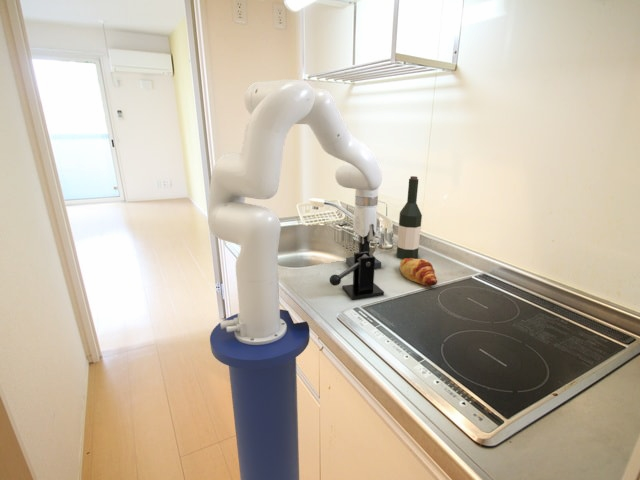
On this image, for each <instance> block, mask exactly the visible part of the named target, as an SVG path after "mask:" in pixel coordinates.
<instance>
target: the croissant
mask: <svg viewBox="0 0 640 480" xmlns="http://www.w3.org/2000/svg"><path fill="white" fill-rule="evenodd" d="M399 271H400V272H401V276H402V277H404V278H406V279H407V280H409V281H412V282H414V283H418V284H420V285H423V286H427V287H432V286H436V285H437V284H438V279H437V276H436V273H435V269H434V267H433V264H432V263H431V262H430V261H429V260H426V259H423V258H422V259H421V258H417V259H413V258H408V259H407V258H406V259H403V260H402V259H401V260H400V264H399Z"/></svg>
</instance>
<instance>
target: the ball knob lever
mask: <svg viewBox="0 0 640 480" xmlns="http://www.w3.org/2000/svg"><path fill="white" fill-rule="evenodd" d="M361 257H368V256H367V255H366V254H364V255H362V256H361ZM359 258H360V257H359ZM359 258H358V259H357V260H358V262H357V263H356V264H354V265H353V266H351V267H348V268H347V269H345V270H344V271H342V272H341V273H338V274H332V275H331V276H330V277H329V284H330V285H331V286H334V287H336V286H339V285H340V284H341V282H342V279H343V278H345V277H347V276H348V275H349V274H351V273H353V271H354V270H355V269H357V268H358V267H359Z"/></svg>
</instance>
